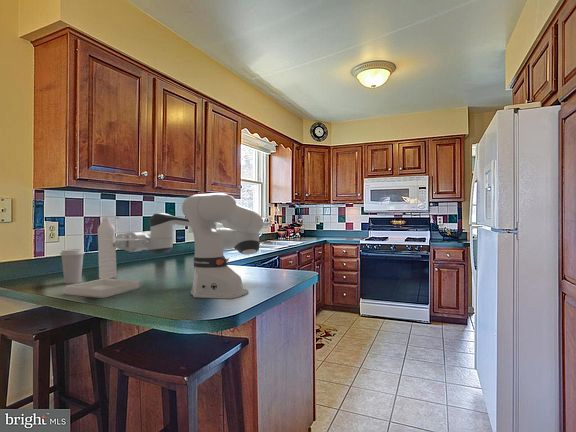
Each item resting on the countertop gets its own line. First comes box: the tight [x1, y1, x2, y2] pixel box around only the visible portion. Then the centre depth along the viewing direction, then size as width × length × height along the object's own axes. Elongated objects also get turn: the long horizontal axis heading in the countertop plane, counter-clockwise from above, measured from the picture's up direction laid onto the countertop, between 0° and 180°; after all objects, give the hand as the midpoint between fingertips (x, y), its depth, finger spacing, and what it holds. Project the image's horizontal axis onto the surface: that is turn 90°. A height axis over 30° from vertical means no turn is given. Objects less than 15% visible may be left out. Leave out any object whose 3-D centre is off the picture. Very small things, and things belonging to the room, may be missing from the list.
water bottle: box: [97, 216, 120, 279], centre depth 144 cm, size 9×6×25 cm
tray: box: [64, 278, 140, 299], centre depth 141 cm, size 20×18×3 cm
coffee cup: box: [59, 248, 86, 285], centre depth 160 cm, size 10×10×15 cm
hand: (107, 244), depth 144 cm, fingers closed on water bottle, 6 cm apart
